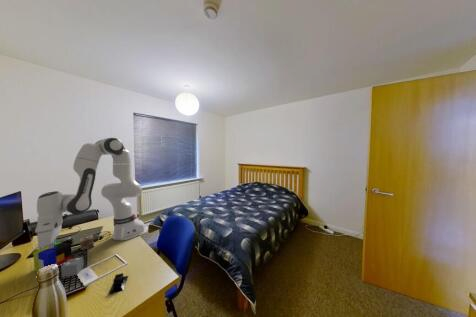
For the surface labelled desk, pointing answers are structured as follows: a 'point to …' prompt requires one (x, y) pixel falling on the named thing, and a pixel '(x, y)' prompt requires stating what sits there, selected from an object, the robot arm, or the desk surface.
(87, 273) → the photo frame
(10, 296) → the desk surface
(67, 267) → the grey block
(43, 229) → the robot arm
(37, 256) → the puzzle toy
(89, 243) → the walnut block
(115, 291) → the black irregular block
